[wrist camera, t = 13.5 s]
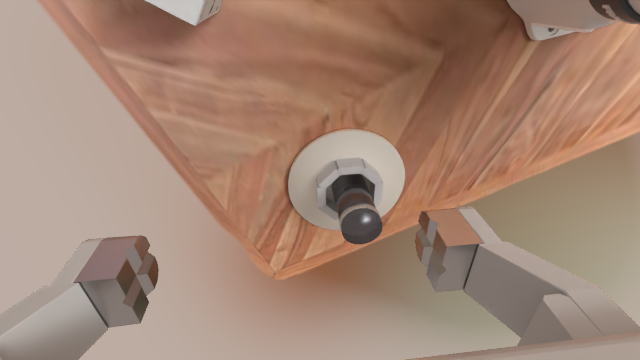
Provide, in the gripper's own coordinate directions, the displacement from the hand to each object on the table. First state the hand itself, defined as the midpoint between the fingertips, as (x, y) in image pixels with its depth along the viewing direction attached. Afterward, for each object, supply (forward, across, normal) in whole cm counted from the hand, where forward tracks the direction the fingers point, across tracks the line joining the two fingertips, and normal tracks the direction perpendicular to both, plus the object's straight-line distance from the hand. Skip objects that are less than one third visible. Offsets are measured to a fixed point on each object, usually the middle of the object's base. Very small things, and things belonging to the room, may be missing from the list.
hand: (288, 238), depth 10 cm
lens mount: (+34, -8, +21) cm, 41 cm away
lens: (+33, -8, +21) cm, 40 cm away
